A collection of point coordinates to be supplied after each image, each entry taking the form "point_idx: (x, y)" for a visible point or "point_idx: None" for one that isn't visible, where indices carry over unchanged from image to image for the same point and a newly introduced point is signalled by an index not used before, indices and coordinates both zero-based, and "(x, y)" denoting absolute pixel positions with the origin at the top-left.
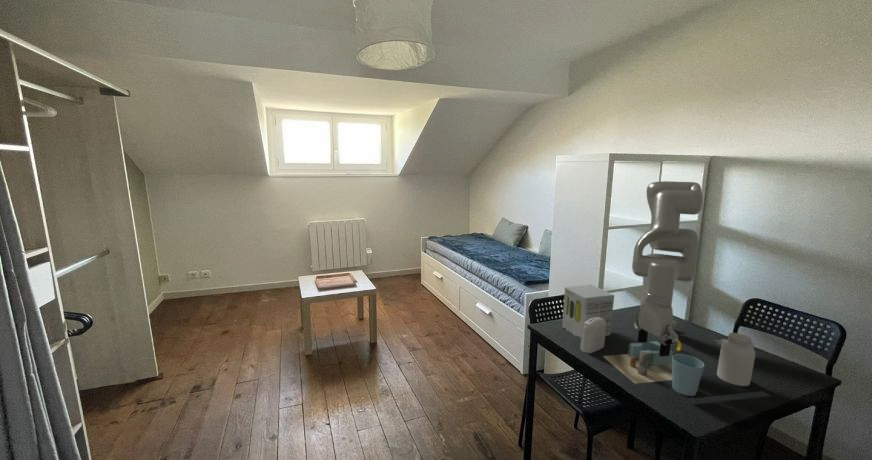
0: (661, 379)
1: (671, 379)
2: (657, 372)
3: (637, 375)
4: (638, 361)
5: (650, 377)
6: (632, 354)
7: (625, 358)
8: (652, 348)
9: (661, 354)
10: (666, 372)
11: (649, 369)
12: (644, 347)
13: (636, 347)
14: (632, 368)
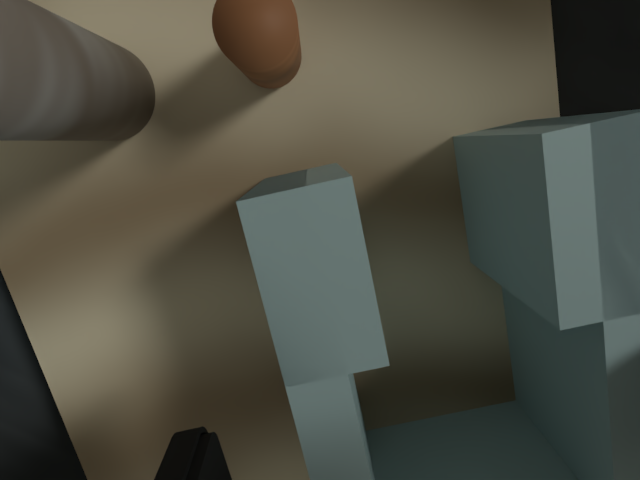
0: (19, 251)
1: (42, 351)
2: (159, 280)
3: (46, 4)
4: (386, 185)
5: (35, 149)
6: (472, 137)
7: (454, 49)
8: (564, 453)
9: (173, 464)
10: (176, 370)
11: (213, 224)
12: (568, 355)
13: (531, 203)
14: (209, 21)
